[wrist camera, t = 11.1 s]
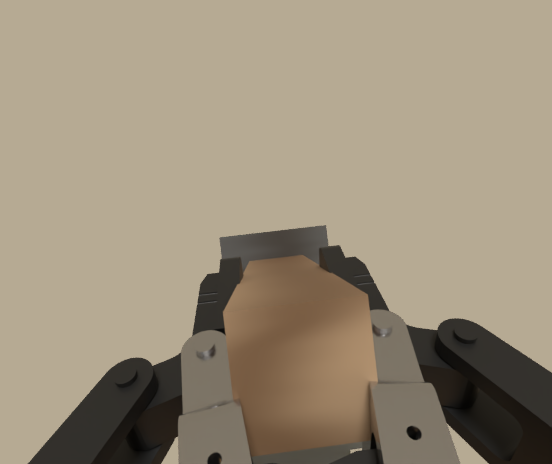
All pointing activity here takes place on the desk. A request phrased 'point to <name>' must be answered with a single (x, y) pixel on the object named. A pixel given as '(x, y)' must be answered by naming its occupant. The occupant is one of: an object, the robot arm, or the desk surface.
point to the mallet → (297, 344)
